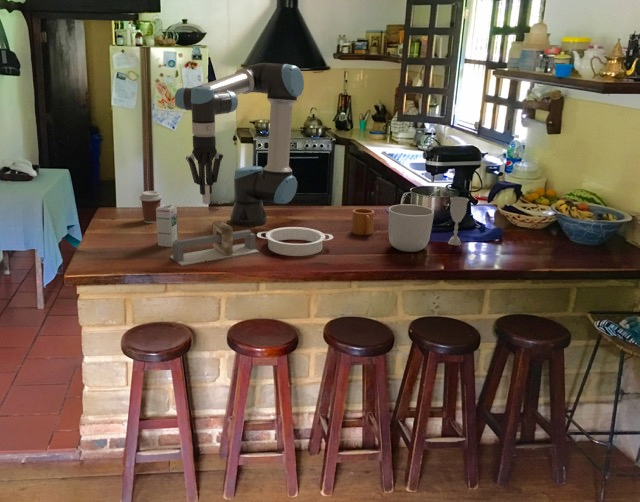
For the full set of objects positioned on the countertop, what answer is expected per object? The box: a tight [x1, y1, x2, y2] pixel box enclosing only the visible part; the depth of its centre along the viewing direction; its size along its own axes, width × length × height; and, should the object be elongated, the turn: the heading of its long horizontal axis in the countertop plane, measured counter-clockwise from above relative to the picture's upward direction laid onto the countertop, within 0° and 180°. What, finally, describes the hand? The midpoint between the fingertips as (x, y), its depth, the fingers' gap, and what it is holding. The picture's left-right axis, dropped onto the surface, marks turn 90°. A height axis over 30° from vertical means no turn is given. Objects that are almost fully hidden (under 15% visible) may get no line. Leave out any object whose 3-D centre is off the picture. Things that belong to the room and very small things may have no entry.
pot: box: [256, 226, 334, 257], centre depth 241 cm, size 29×22×5 cm
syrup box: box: [156, 204, 179, 248], centre depth 237 cm, size 6×6×14 cm
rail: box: [169, 229, 260, 267], centre depth 229 cm, size 30×10×7 cm, turn 125°
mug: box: [351, 208, 375, 236], centre depth 261 cm, size 9×12×9 cm
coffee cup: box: [139, 190, 163, 224], centre depth 265 cm, size 9×9×12 cm
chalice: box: [447, 196, 470, 246], centre depth 251 cm, size 7×7×18 cm
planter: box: [387, 203, 435, 253], centre depth 243 cm, size 17×17×15 cm
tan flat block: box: [212, 220, 234, 255], centre depth 230 cm, size 3×10×10 cm, turn 35°
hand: (206, 203), depth 222 cm, fingers closed
